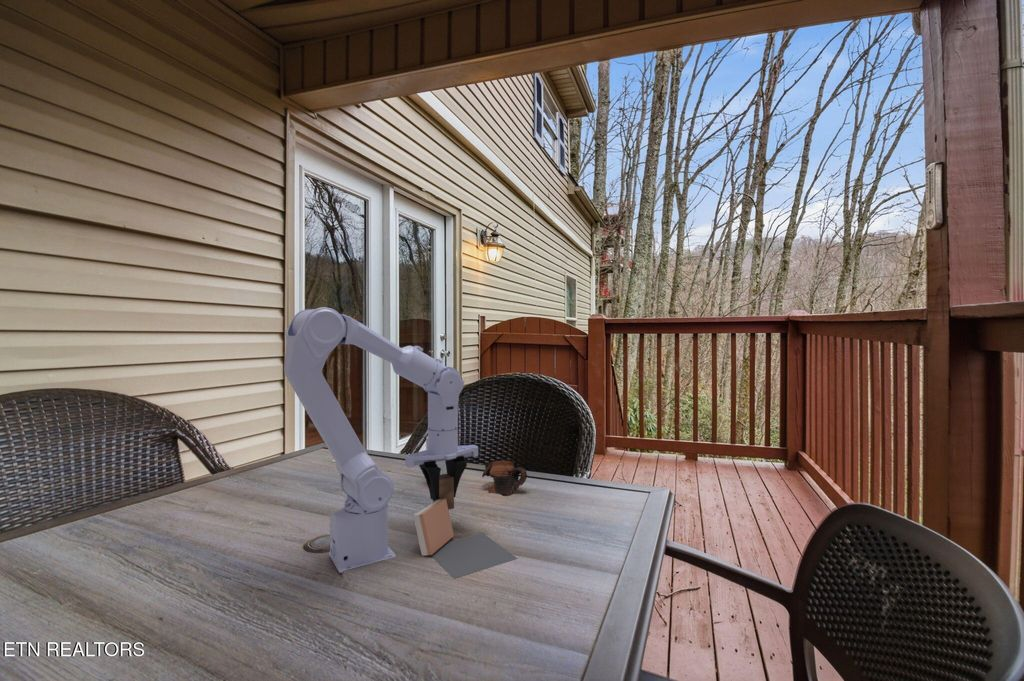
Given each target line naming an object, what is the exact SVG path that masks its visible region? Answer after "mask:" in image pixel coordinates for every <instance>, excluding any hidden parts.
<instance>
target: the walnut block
mask: <svg viewBox="0 0 1024 681" xmlns="http://www.w3.org/2000/svg"><path fill="white" fill-rule="evenodd" d="M439 499H446V501H447V506H448V510H453V509H455V497H454V477H452V476H450V475H449V474H442V475H440V477H439V498H438V500H439ZM432 501H433V500H432ZM433 502H434V501H433ZM433 502H432V503H433Z"/></svg>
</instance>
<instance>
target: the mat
mask: <svg viewBox="0 0 1024 681" xmlns="http://www.w3.org/2000/svg"><path fill="white" fill-rule="evenodd" d="M430 557H431V558H432V559H433V560H434V561H435V562H436V563H438V564H439V566H441V567H442V569H444V570H445V571H446V572H447V573H448V574H449V575H450V577H451V578H453V579H454V580H455V579H458V578H461V577H465V576H468V575H471V574H475V573H477V572H481V571H484V570H487V569H490V568H493V567H497V566H500V565H502V564H506V563H508V562H511V561H515V560H517V559H518V557H517V556H515V555H514V554H512V552H510V551H508V549H506V548H504V547H503V546H502V545H500V544H499V543H497V542H496V541H494V540H493V539H492V538H490V536H487V535H486V534H485V533H483V532H480V533H477V534H473V535H468V536H466V537H461V538H458V539H455V540H449V541H447V542H446V543H445V544H444V545H443V546H442V547H440V548H439V549H438V550H437V551H436V552H434V553H433V554H432V555H430Z"/></svg>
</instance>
